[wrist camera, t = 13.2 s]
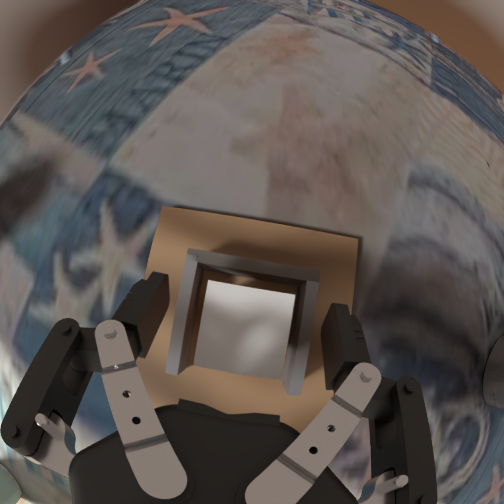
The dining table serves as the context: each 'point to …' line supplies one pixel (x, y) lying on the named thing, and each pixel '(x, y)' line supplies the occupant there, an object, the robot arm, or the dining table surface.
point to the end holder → (254, 276)
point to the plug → (244, 330)
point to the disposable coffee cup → (8, 487)
